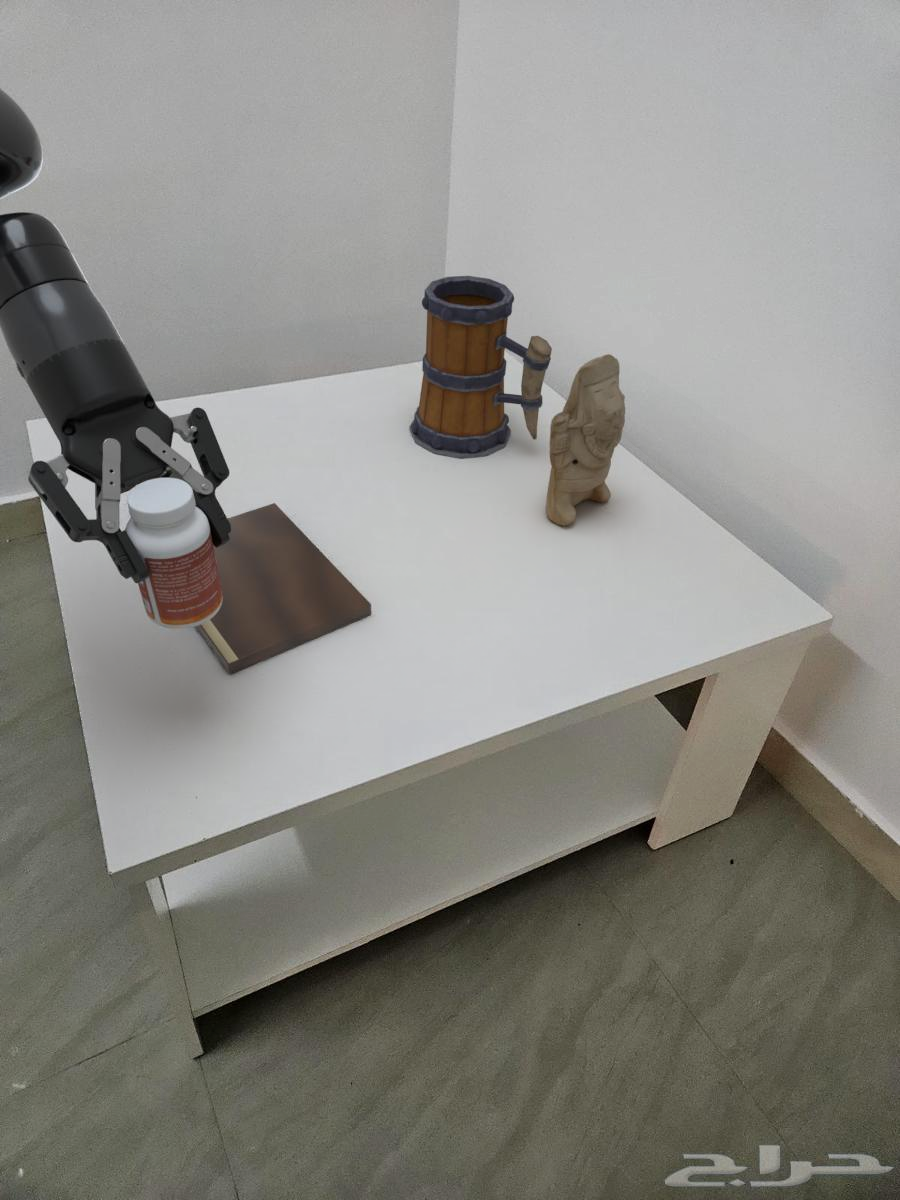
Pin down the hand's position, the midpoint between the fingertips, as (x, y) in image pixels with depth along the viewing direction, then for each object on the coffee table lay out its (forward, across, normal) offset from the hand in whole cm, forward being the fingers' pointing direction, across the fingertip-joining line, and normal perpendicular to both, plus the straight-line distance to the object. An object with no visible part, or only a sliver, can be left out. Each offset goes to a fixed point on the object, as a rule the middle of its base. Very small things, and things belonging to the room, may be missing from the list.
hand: (184, 560), depth 62 cm
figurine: (+13, +52, +14) cm, 55 cm away
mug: (-1, +54, +28) cm, 61 cm away
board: (+3, +13, +23) cm, 26 cm away
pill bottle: (+3, 0, +5) cm, 6 cm away
